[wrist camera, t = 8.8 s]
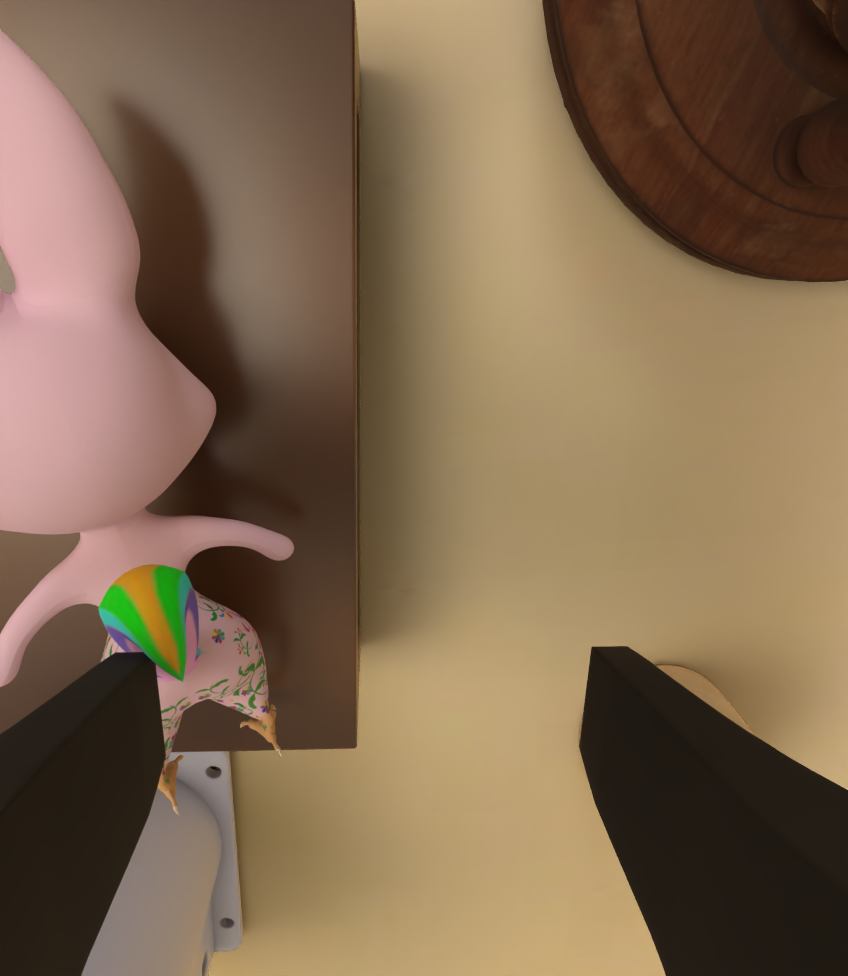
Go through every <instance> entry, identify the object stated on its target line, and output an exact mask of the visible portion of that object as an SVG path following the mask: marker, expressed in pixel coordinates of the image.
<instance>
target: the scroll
mask: <svg viewBox="0 0 848 976" xmlns="http://www.w3.org/2000/svg"><path fill="white" fill-rule="evenodd" d="M543 9H544V16H545V24H546V32H547V39H548V44H549V48H550V53H551V58H552V62H553V67H554V71H555V75H556V78H557V81H558V84H559V88H560V91H561V94H562V97H563V101H564V106H565V108H566V109H567V111H568V113H569V115H570V118H571V120H572V123H573V125H574V127H575V130H576V132H577V134H578V136H579V138H580V140H581V142H582V143H583V145H584V147H585V149H586V151H587V153H588V155H589V157H590V158H591V160H592V162H593V163H594V165H595V166H596V168H597V169H598V171H599V172H600V173H601V175H602V176H603V178H604V179H605V181H606V182H607V184H608V185H609V186H610V187H611V189H612V190H613V191H614V192H615V193H616V195H617V196H618V197H619V198H620V199H621V201H622V202H623V203H624V204H625V205H626V206H627V207H628V208H629V209H630V210H631V211H632V212H633V213H634V214H635V215H636V216H637V217H638V218H639V219H640V220H641V221H642V222H643V223H644V224H645V225H647V226H648V227H649V228H651V229H652V230H653V231H654V232H656V233H657V234H658V235H660V236H661V237H662V238H664V239H665V240H666V241H668V242H669V243H671V244H673V245H674V246H676V247H678V248H679V249H681V250H683V251H684V252H686V253H688V254H689V255H692V256H694V257H696V258H698V259H700V260H702V261H705V262H707V263H709V264H711V265H714V266H717V267H720V268H723V269H726V270H729V271H732V272H735V273H739V274H744V275H749V276H754V277H759V278H765V279H776V280H787V281H805V282H835V281H845V280H848V0H543Z"/></svg>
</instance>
